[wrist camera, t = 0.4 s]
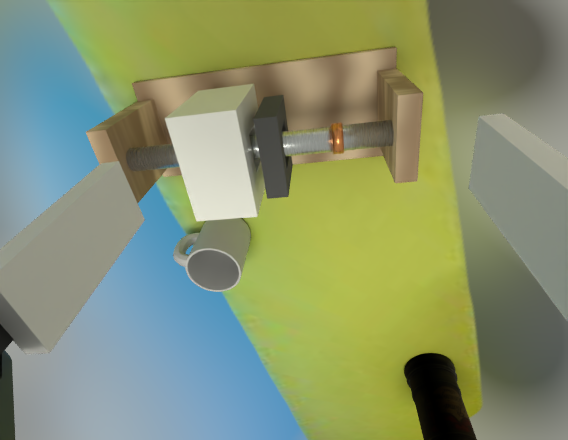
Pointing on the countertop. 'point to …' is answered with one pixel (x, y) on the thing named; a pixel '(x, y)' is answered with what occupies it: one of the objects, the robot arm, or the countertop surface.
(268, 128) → the dark grey square plate
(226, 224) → the cup
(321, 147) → the pipe
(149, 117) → the stand
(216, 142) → the sleeve
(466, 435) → the container
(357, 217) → the countertop surface
